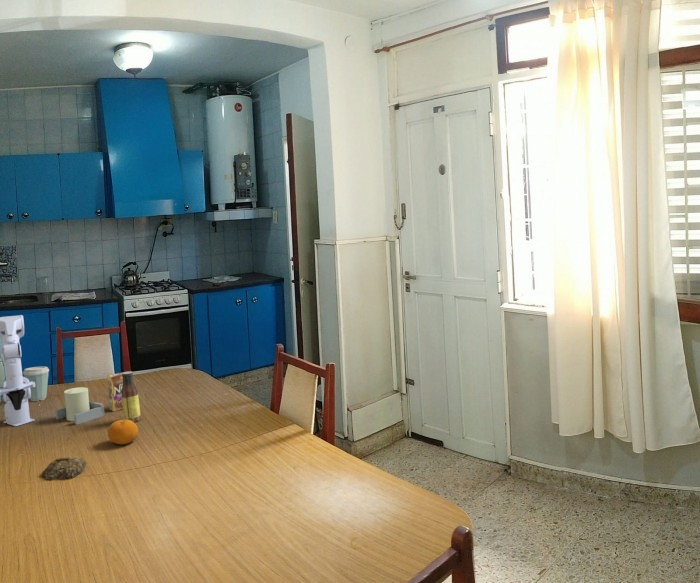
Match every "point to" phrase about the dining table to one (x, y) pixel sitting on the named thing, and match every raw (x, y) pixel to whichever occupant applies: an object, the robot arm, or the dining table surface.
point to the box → (83, 413)
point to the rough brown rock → (64, 468)
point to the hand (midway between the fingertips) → (17, 409)
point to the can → (76, 401)
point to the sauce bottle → (130, 398)
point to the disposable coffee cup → (37, 382)
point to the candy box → (115, 391)
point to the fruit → (122, 431)
